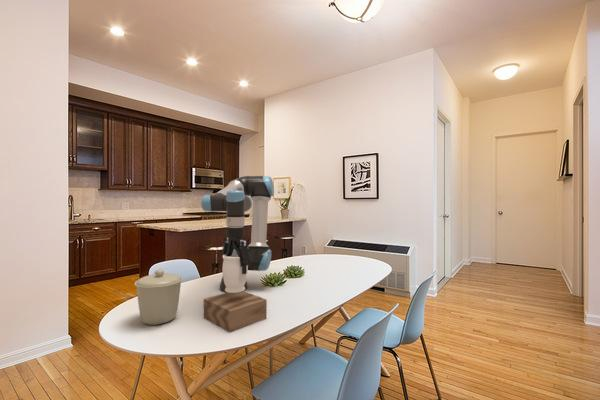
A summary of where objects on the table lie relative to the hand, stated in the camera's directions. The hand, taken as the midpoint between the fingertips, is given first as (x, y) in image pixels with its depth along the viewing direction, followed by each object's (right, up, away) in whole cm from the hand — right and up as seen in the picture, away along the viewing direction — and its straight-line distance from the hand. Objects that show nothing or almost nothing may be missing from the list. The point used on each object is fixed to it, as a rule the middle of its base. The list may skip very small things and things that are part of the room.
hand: (235, 278), depth 125 cm
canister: (-31, -17, -2) cm, 35 cm away
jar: (0, -5, 0) cm, 5 cm away
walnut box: (0, -17, 0) cm, 17 cm away
